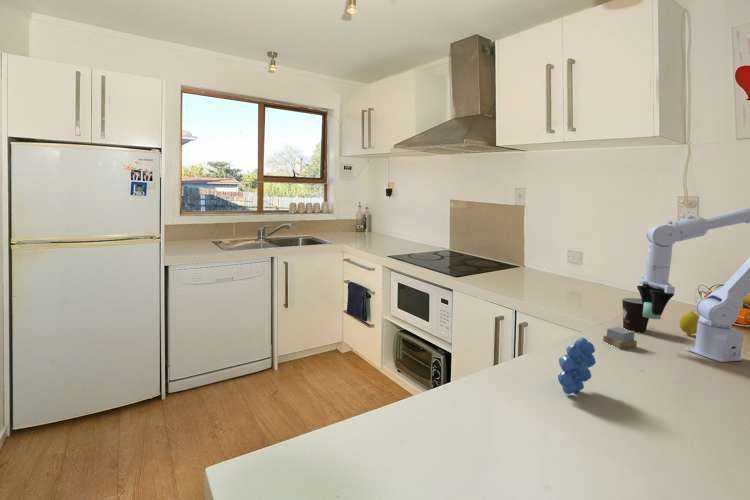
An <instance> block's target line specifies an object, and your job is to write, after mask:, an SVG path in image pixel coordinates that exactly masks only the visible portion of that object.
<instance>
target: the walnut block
mask: <svg viewBox="0 0 750 500" xmlns="http://www.w3.org/2000/svg"><path fill="white" fill-rule="evenodd" d="M603 341H604V342H606V343H608V344H607V345H609V344H610V345H609V346H611V345H613V346H615V347H617V348H616V349H618V348H628V349H635V348H634V347H636V348H637V344H638V342H637V340H635V339H634V340H632V341H627V342H621V341H618V340H615V339H612V338H608V337H607V335H603V338H602V342H603ZM604 342H603V343H604ZM606 343H605V344H606ZM613 346H612V347H613ZM615 347H614V348H615Z"/></svg>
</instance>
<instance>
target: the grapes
mask: <svg viewBox="0 0 750 500" xmlns="http://www.w3.org/2000/svg"><path fill="white" fill-rule="evenodd" d="M565 350H566V354H563V355H561V356H560V357H559V358H558V364H559V366H560V368H561V369H560V370H562V372H559V374H558V375H557V379H558V382H559V384H560V386H561V387H562V388H561V389H562V390H563V392H564V394H566V395H571V394H573V393H579V392H580V391H582V390H583V389H584V388H585V386H584V383H585V382H587V381H590V379H591V378H592V374H591V371H590V369H589V368H591V367H593V366H594V365H595V364H596V358H595V356H594V355H593V354H594V353H595V352H596V349H595V346H594V344H593V343H592V342H591V341H588V339H586V338H585V337H580V338H578V339H577V340H576V341H574V343H571V344H570V345H568V347H566V349H565Z"/></svg>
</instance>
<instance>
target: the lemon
mask: <svg viewBox="0 0 750 500" xmlns="http://www.w3.org/2000/svg"><path fill="white" fill-rule="evenodd" d="M699 318H700V315H699V314H698V313H694V311H687V312H684V313H683V314H682V315H681V317H680V319H679V324H678V325H679V328H680V330H681V331H682V332H683V333H685V334H686V335H687V336H691V335H694V334H697V325H698V319H699Z"/></svg>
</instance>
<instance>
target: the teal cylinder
mask: <svg viewBox="0 0 750 500" xmlns="http://www.w3.org/2000/svg"><path fill="white" fill-rule="evenodd" d="M642 316H643V317H646V318H649V320H661V318H662V315H654V314H652V302H644V307H643V315H642Z"/></svg>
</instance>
